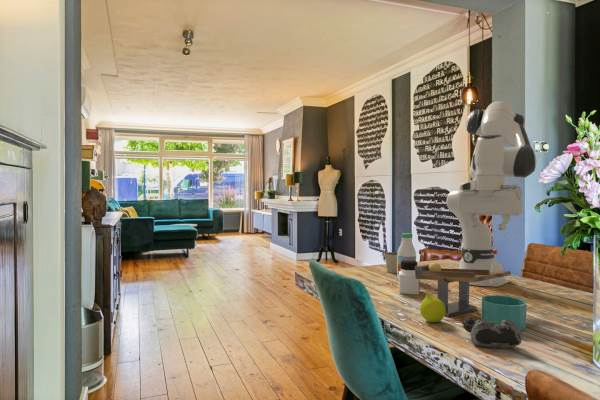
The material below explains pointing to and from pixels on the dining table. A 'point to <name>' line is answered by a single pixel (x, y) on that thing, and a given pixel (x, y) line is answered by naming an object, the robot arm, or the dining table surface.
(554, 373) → the dining table surface
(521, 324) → the cup
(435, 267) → the ball
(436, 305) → the ornament
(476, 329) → the bison figurine
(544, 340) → the dining table surface
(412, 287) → the medicine bottle
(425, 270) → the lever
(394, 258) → the flower pot
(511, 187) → the robot arm
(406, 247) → the milk bottle
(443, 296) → the lever stand
